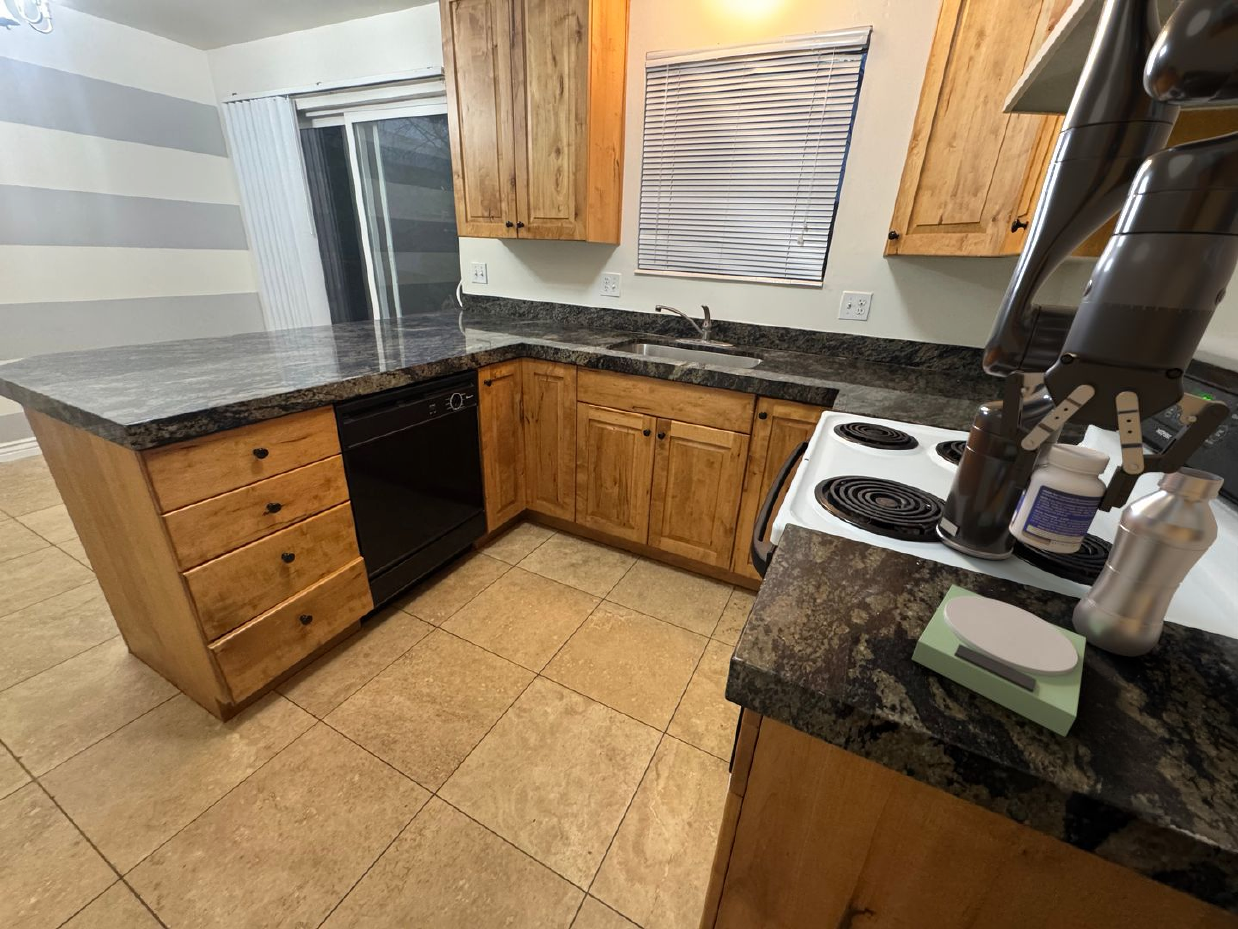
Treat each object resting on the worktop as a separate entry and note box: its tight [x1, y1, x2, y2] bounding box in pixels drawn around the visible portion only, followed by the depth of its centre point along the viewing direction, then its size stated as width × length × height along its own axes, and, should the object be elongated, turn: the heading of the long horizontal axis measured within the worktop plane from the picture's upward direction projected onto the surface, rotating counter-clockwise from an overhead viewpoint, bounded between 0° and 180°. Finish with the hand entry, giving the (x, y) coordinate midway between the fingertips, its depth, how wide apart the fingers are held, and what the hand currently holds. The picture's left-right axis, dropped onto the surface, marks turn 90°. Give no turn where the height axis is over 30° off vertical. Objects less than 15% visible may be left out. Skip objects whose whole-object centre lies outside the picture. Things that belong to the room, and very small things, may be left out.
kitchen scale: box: [911, 584, 1087, 738], centre depth 50 cm, size 14×12×3 cm
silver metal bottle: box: [1071, 466, 1225, 657], centre depth 50 cm, size 6×7×20 cm
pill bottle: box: [1009, 443, 1111, 554], centre depth 45 cm, size 5×5×9 cm
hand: (1060, 496), depth 45 cm, fingers closed on pill bottle, 5 cm apart
